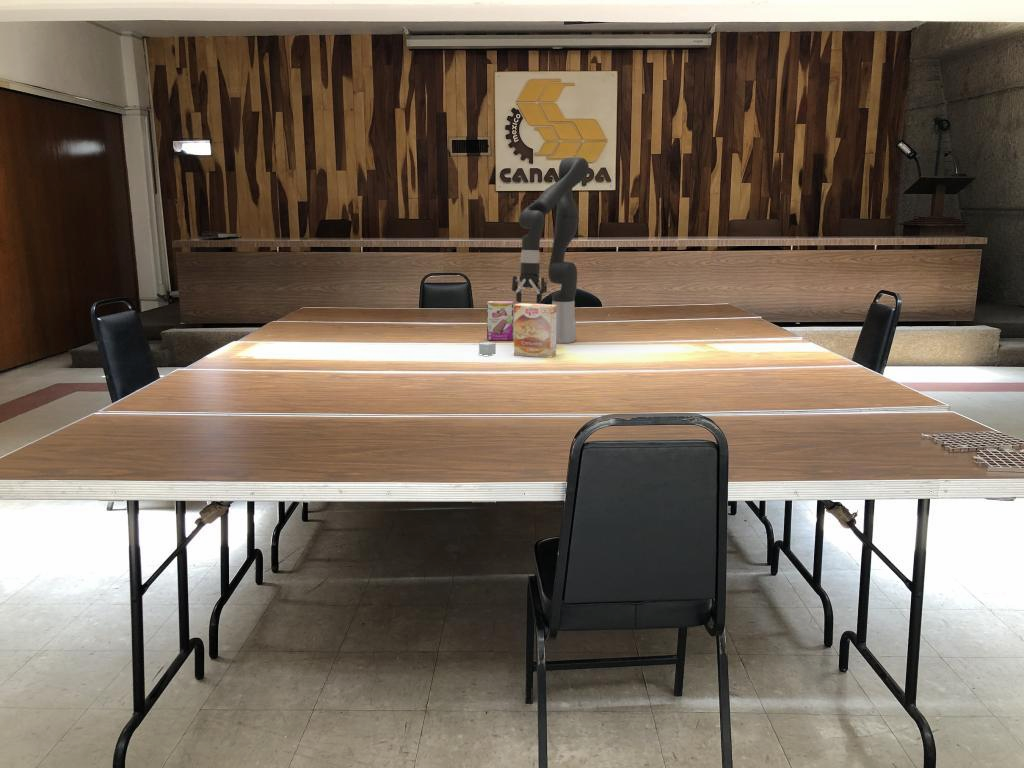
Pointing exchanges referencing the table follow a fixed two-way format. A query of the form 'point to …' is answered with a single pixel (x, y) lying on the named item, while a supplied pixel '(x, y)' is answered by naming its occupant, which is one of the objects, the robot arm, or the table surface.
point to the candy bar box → (500, 320)
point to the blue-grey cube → (487, 348)
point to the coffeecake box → (535, 329)
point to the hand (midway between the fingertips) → (528, 303)
